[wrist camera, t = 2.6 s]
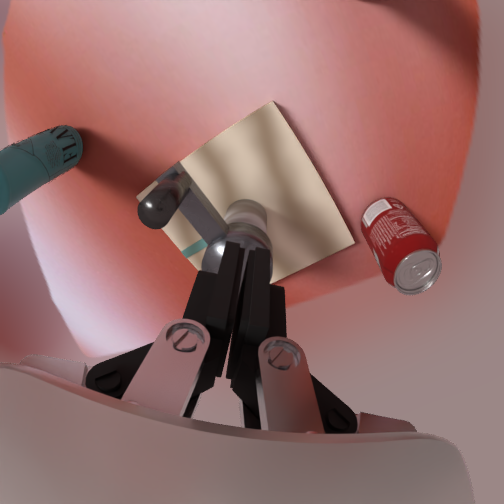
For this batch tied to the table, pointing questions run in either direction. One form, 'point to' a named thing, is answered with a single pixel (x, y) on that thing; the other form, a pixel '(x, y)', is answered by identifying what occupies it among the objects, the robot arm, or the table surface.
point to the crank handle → (199, 218)
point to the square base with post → (263, 193)
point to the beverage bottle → (37, 162)
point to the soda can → (401, 246)
